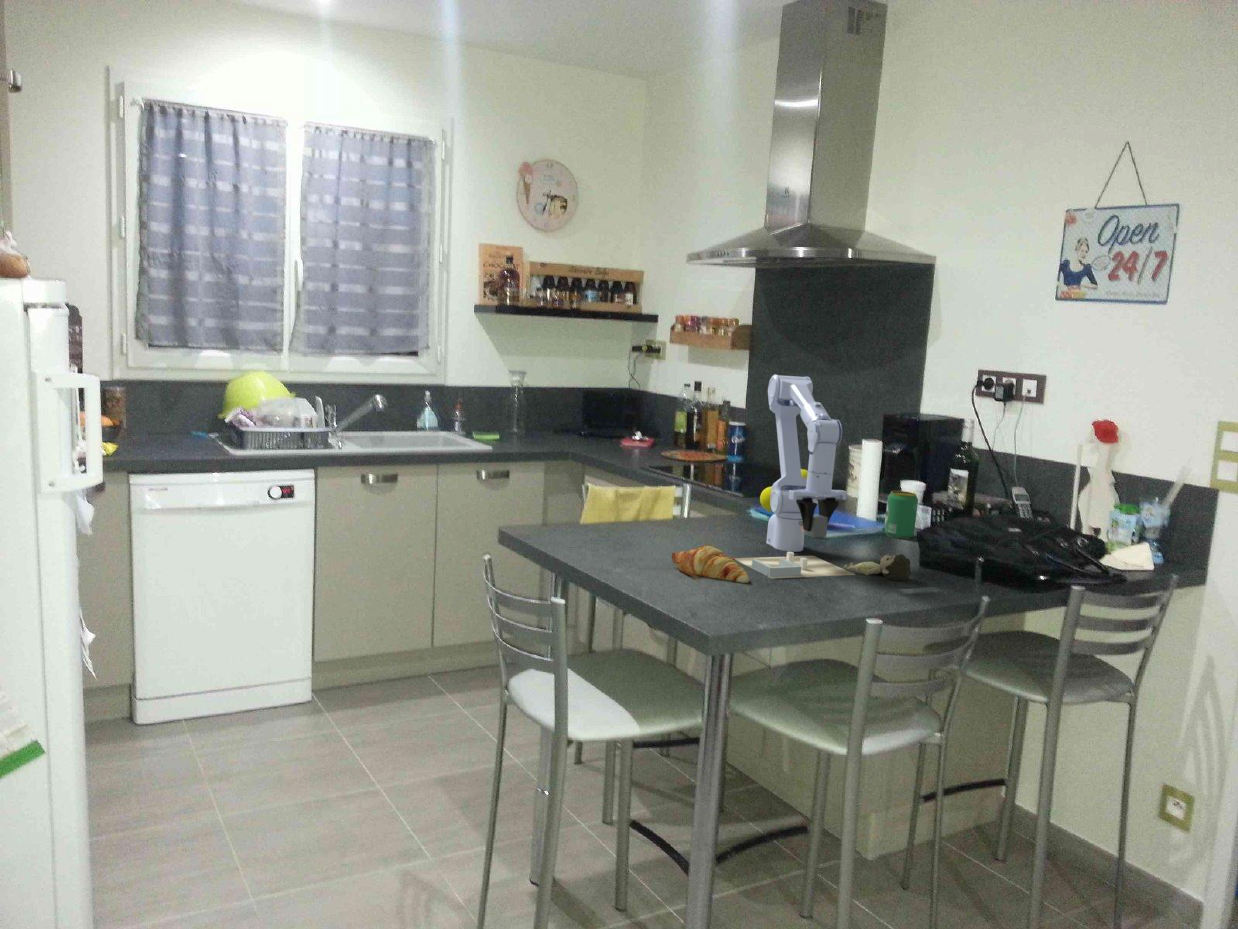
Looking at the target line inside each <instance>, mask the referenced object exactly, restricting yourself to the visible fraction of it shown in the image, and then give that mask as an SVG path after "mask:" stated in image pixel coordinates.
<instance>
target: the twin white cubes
mask: <svg viewBox="0 0 1238 929" xmlns="http://www.w3.org/2000/svg"><path fill="white" fill-rule="evenodd" d="M794 556H795V553H794V552H791V551H786V556H785V557H786V560H788V561H790V562H792V563H793V559H794ZM807 561H808V559H806V558H800V566H801V569H802V570H807Z"/></svg>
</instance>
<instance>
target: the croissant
mask: <svg viewBox="0 0 1238 929" xmlns="http://www.w3.org/2000/svg"><path fill="white" fill-rule="evenodd" d="M671 561H672V562H673V563H674V564H675V565H676V566H677V568H678V570H679V571H681V573H685V574H687V575H688V576H690V575H691V576H690V577H693V576H694V577H695V578H697V579H700V578H701V577H705V578H712V579H719V580H723V581H730V582H735V583H736V582H737V583H741V584H742V583H743V584H748V583H749V582H750V580H751V579H750V577H749V575H748V573H747V571H746V569H744V568H743V567H742V566H740V564H739V563H738V561H737V560H736V559H734V557H729V556H726V555H725V553H724V552H723V551H722V550H720V549H719V548H716V547H714V546H711V545H708V544H704V545H702V546H699V547H698V548H692V549H690V550H689V551H683V550H681V551H680V552H671ZM700 576H701V577H700Z"/></svg>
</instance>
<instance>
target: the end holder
mask: <svg viewBox="0 0 1238 929" xmlns="http://www.w3.org/2000/svg"><path fill="white" fill-rule="evenodd" d="M752 568H753V569H752ZM752 568H751V569H752V570H754V569H755V570H754V571H756V570H757V573H760V574H762V575H764V576H766V577H768V578H770V577H783V576H801V566H799V565H796V564H794V563H792V562H790V561H788V560H786V559H784V558H779V567H771V566H769V565H767V564H765V563H763V562H761V561H759V560H757V559H753V560H752Z"/></svg>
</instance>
